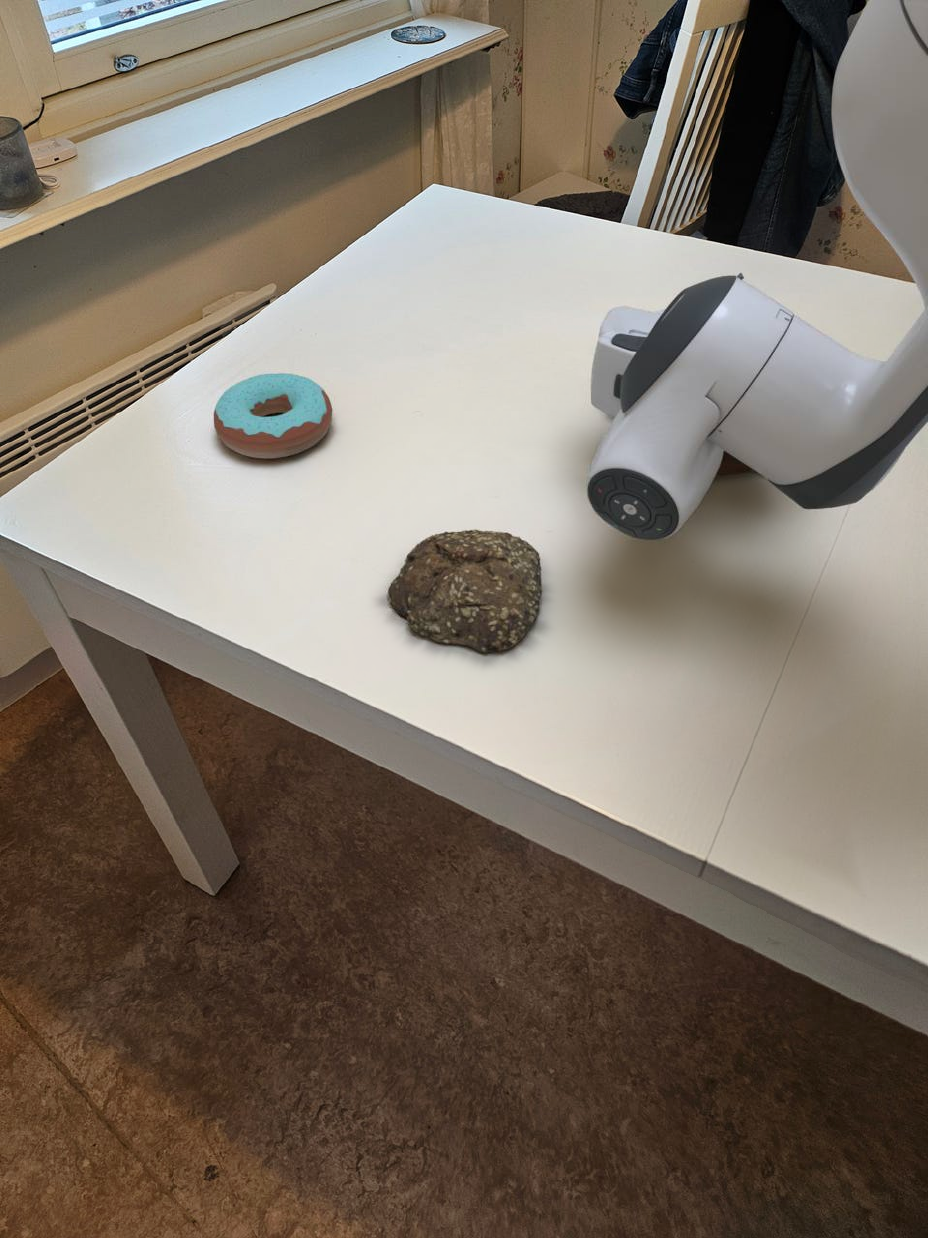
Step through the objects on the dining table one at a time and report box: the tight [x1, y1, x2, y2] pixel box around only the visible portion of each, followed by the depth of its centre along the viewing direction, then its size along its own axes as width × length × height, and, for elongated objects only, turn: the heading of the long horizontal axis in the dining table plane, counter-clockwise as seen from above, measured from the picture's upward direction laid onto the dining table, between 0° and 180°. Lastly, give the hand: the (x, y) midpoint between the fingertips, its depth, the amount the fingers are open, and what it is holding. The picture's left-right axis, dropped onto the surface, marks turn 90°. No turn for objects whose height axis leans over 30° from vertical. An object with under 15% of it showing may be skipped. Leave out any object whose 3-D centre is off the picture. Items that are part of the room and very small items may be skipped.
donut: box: [213, 372, 333, 460], centre depth 88 cm, size 12×12×4 cm
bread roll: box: [387, 529, 543, 654], centre depth 71 cm, size 13×12×5 cm
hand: (733, 319), depth 79 cm, fingers open, 8 cm apart
